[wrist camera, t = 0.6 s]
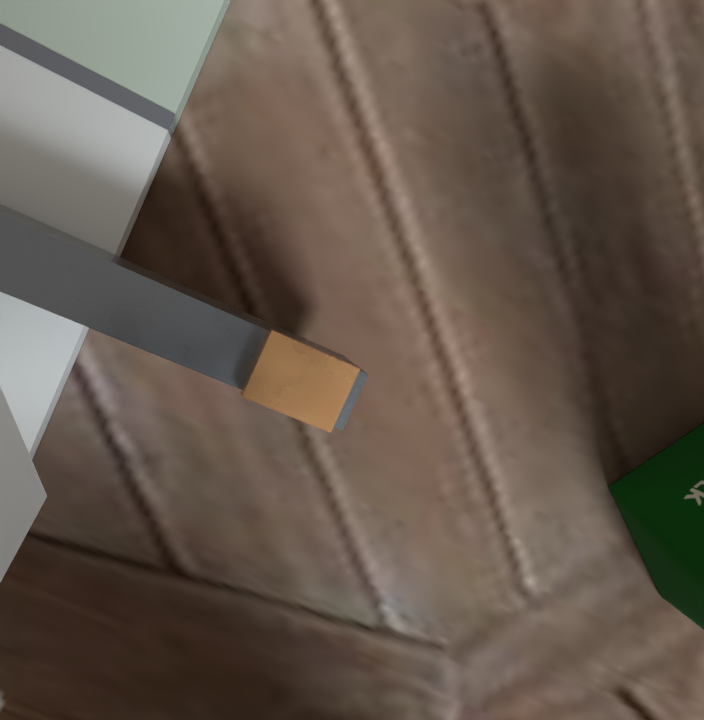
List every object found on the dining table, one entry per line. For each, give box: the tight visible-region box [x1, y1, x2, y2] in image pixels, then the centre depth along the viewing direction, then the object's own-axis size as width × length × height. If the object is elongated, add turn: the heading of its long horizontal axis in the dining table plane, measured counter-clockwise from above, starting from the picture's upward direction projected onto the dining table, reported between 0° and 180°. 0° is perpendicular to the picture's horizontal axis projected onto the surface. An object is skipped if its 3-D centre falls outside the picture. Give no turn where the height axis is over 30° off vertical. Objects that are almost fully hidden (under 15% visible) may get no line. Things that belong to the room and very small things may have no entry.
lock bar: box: [0, 204, 368, 433], centre depth 19 cm, size 17×3×5 cm, turn 65°
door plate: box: [0, 0, 231, 460], centre depth 21 cm, size 32×12×2 cm, turn 155°
